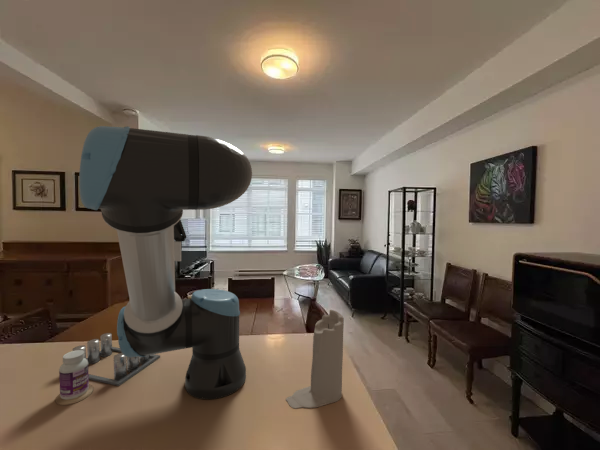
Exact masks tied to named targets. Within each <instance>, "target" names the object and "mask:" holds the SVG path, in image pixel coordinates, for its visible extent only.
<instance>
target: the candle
mask: <svg viewBox="0 0 600 450" xmlns="http://www.w3.org/2000/svg"><path fill="white" fill-rule="evenodd" d="M312 339H313V340H312V341H313V342H312V359H311V372H310V373H311V374H310V385H309V386H306V387H303V388H299V389H298V390H296V391H294V392H293V394H292V395H290V396H288V397H286V398H285V401H287V404H288V405H289V407H291V408H292V409H299V408H304V409H305V408H306V409H313V408H319V407H322V406H325V405H328V404H329V405H330V404H333V403H337V402H338V401H340V400H341V398H342V396H343V395H342V394H343V393H342V392H343V360H344V359H343V355H344V317H343V314H341V313H339V311H336V310H334V309H330V310H329V314H323V315H322V316H321V319H320V320H317V322H316V323H315V326H314V332H313V338H312Z"/></svg>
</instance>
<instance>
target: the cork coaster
mask: <svg viewBox="0 0 600 450" xmlns="http://www.w3.org/2000/svg"><path fill="white" fill-rule="evenodd" d="M93 391H94V386H93V385H92V384H91V383H89V388H88V390H87V392H86V393H84V394H83V395H81V396H79V397H77V398H74V399H70V400H64V399H62V398H61V397H60V393H58V394H57V396H56V397H55V403H56V405H59V406H69V405H73V404H76V403H79V402H81V401H83V400H85V399H86V398H88V397H89V396H90V395H92V394H93Z"/></svg>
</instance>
